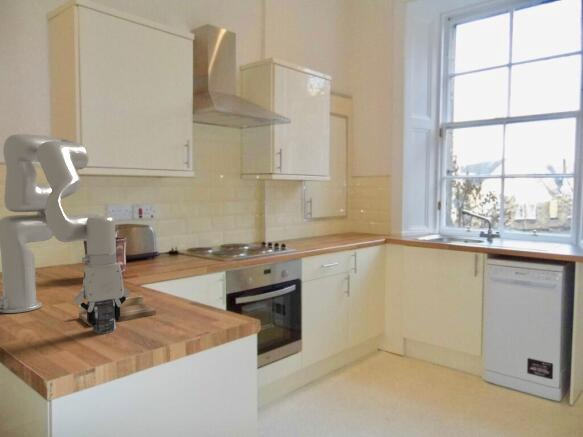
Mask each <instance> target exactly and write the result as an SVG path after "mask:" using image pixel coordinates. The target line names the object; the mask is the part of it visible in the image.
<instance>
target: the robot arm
mask: <svg viewBox="0 0 583 437" xmlns="http://www.w3.org/2000/svg"><path fill="white" fill-rule="evenodd" d="M2 151H3V152H2V153H3V159H4V162H5V168H6V171H5V172H6V174H5V185H4V196H3V198H4V207H5V209H7V210H8V211H9V212H13V213H35V214H15V215H14V214H12V215H8V216H4V217H2V218H0V259H1V260H0V261H1V263H0V264H1V274H2V276H1V277H2V278H1V281H2V295H1V296H0V313H2V314H17V313H25V312H30V311H34V310H37V309H39V308H41V307H42V306H43V304H42V302H41V301H39V300H37V287H36V286H37V285H36V284H37V283H36V265H35V264H36V263H35V262H36V261H35V254H34V252H33V251H32V250H31V249H30V247H29V246H28V244H30V243H39V242H45V241H49V240H50V239H52V238H53V236H54V238H55V239H56V240H57V241H58V242H62V243H74V242H82V241H83V242H84V241H85V240H87V256H86V257H85V256H84V257H82V258H81V262H82V263H87V264H88V265H86V266H85V267H84V271H83V277H82V278H83V280H82V289H81V291H79V293H78V294H77V295H76V296H75V297H74V298H73V302H74V303H75V304H78V306H79V305H80V306H81V307H83V308H84V309H85V310H87V322H88V323H89V324H90V325H92V326H94V325H95V312H94V311H93V307H94V304H95V302H100V301H106V300H112V299H114V303H115V321H119V317H120V307H121V305H122V303H123V302H124V301H125V300H126V298H129V296H130V295H131V293H132V292H131V290H129V289H128V288H127V287H126V286H125V285H124V280H123V275H122V273H121V268H120V264H119V263H116V237H117V235H116V220H115V218H114V217H113V216H110V215H98V214H93V213H91V214H90V213H89V214H70V215H66V214H65V212H64V210H63V208H62V205H61V200H63V199H65V198H67V197H69V196H72V195H73V194H75V193H77V192H78V191H79V190H80V189H81V187H82V184H83V183H82V179H81V177H80V176H79V173H78V171H77V170H83V169H85V168H86V167H87V166H88V163H89V154H88V151H87V150H86V147H84V146H83V145H82V144H81V143H79V142H76V141H74V140H69V139H66V138H63V137H57V136H49V135H48V136H47V135H39V134H29V133H27V134H26V133H16V134H12V135H9V136H8V137H7V138H6V139H5V140H4V143H3V149H2ZM35 162H36V163H39V164H40V167H41V169H42V172H43V173H44V176H45V179H46V181H47V183H37V175H38V174H37V169H36V168H35V166H34V164H33V163H35ZM82 299H84V300H86V301H87V302H86V303H85V302H84V301H82Z"/></svg>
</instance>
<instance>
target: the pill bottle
mask: <svg viewBox="0 0 583 437" xmlns="http://www.w3.org/2000/svg"><path fill="white" fill-rule="evenodd" d="M93 311H94V312H95V325H94V326H93V327H92V331H93V333H94V334H108V333H111V332H113V331H115V330H116V322H115V303H114V299H112V300H106V301H100V302H95V304H94V307H93Z"/></svg>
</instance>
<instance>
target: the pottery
mask: <svg viewBox="0 0 583 437" xmlns="http://www.w3.org/2000/svg"><path fill="white" fill-rule="evenodd" d="M127 241H128V240H127V237H123V236H116V263H119V264H120V268H121V273H122V276H123V275H124V273H125V271H126V269H127V268H126V267H127V260H126V259H127V258H126V253H127V252H126V251H127V250H126V247H127ZM83 247H84V257H86V256H87V240H85V241H83ZM84 263H85V262H84ZM84 265H85V266H86V265H88V264H87V263H85V264H84Z"/></svg>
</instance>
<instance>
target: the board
mask: <svg viewBox="0 0 583 437" xmlns="http://www.w3.org/2000/svg"><path fill="white" fill-rule="evenodd" d="M155 315H157V310H156V308H155V309H154V308H153V307H151V306H149V305H147V304H146V303H145V304H144V295H137V296H136V295H135V296H130V297H129V296H128V297H127V298H126V300H125V301H124V302H123V303H122V305H121V307H120V317H119V321H120V322H124V321H130V320H134V319H140V318H145V317H150V316H155ZM78 318H79V320H81V319H82V320H83V321H82V320H81V321H82V322H83V323H85V322H86V323H87V324H88V325H87V324H86V323H85V324H86V325H87V326H89V325H90V324H89V323H88V322H87V310H85V309H84V308H83V307H81V306H80V305H78ZM119 321H115V323H119ZM90 326H92V325H90ZM90 326H89V327H90Z"/></svg>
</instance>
